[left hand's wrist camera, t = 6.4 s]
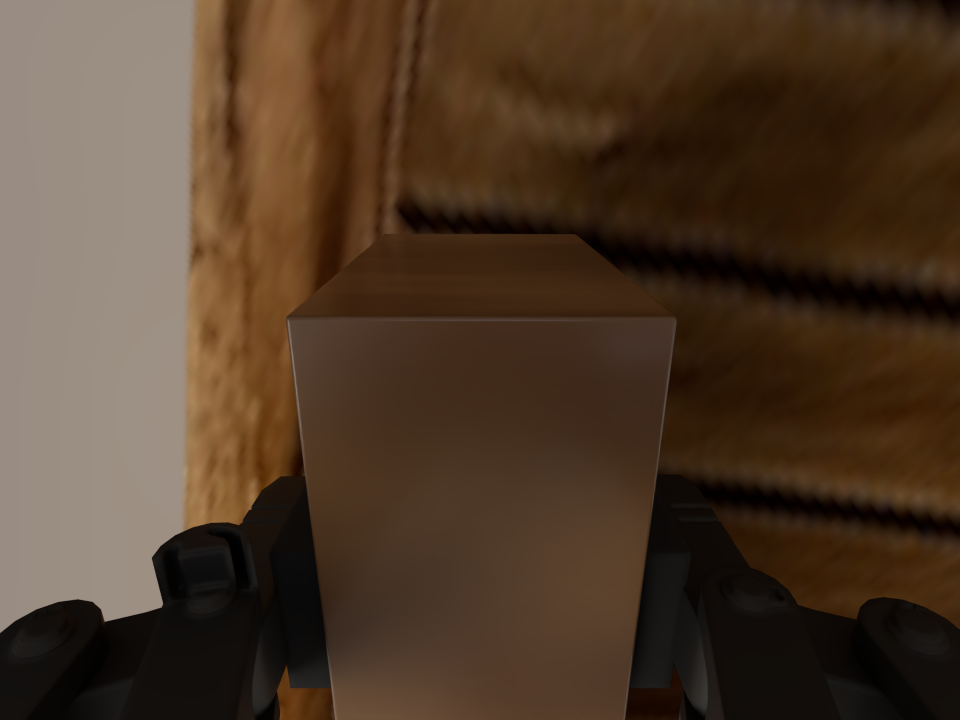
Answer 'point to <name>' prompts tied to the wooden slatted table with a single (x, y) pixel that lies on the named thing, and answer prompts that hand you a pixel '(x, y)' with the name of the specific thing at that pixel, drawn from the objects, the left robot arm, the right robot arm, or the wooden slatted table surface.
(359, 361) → the beam
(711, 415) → the wooden slatted table surface
